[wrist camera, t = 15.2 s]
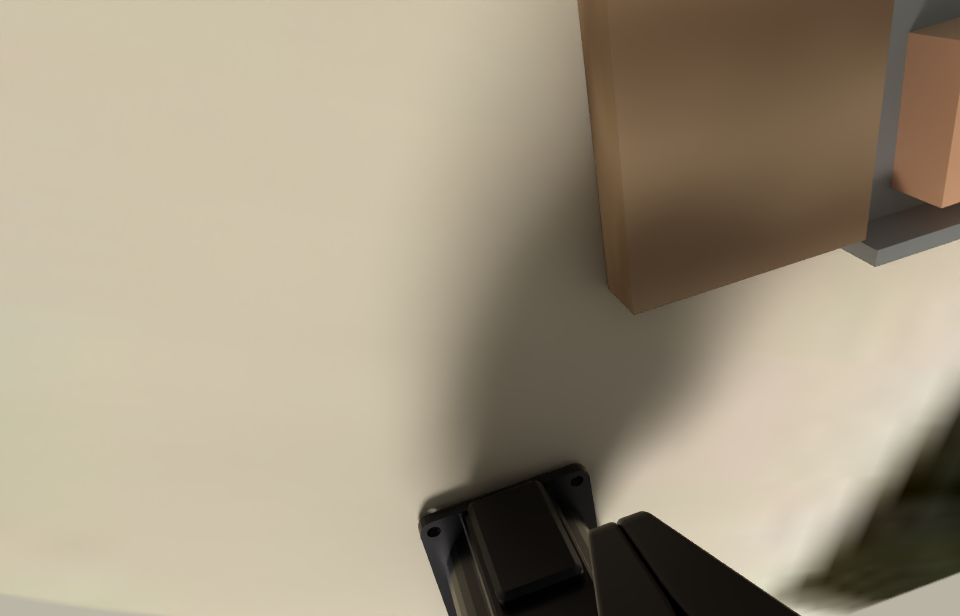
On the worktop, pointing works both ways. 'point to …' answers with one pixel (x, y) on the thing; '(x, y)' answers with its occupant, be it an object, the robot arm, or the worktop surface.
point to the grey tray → (894, 215)
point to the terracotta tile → (930, 117)
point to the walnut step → (730, 135)
